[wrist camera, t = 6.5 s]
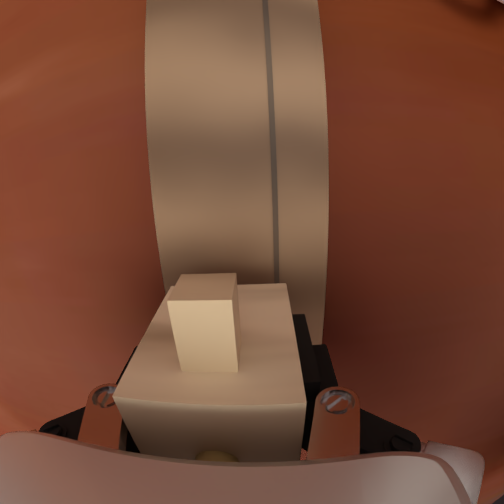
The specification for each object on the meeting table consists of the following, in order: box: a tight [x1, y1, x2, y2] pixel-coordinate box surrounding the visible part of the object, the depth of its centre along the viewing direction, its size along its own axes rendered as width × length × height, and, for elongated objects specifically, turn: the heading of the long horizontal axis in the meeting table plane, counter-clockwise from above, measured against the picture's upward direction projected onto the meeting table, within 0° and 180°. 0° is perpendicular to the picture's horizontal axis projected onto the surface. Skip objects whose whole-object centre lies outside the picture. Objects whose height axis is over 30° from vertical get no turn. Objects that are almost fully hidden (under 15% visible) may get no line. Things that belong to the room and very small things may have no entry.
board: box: [145, 0, 329, 345], centre depth 14 cm, size 22×8×2 cm, turn 3°
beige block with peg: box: [112, 273, 307, 462], centre depth 9 cm, size 9×4×7 cm, turn 3°
